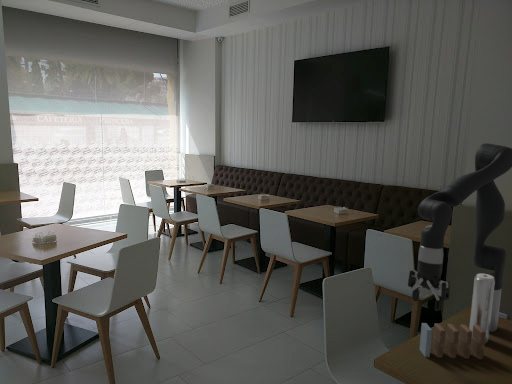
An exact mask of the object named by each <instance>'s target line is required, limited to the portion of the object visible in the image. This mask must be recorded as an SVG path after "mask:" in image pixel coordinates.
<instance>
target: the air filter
mask: <svg viewBox="0 0 512 384" xmlns="http://www.w3.org/2000/svg"><path fill="white" fill-rule="evenodd" d="M488 274H489V273H488ZM488 274H487V273H476V275H475V276H474V280H473V289H472V290H473V291H472V299H471V309H470V318H469V326H468V328H469V329H470V330H471V331H472V334H473V325H479V326H480V327H481V328H482V329H483V330H484V331H485V332H486V335H485V344H487V343H489V337H490V332H489V329H490V321H491V312H492V303H493V294H494V286H495V279H494V277H493V276H491V275H488Z"/></svg>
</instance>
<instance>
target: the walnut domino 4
mask: <svg viewBox="0 0 512 384" xmlns="http://www.w3.org/2000/svg"><path fill="white" fill-rule="evenodd" d="M485 335H486V332H485V331H484V330H483V329H482V328H481V327H480V326H479V325H473V334H472V340H471V349H470V353H472V354H473V356H475V358H476V359H477V360H484V350H485V344H486V343H485Z"/></svg>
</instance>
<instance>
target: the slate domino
mask: <svg viewBox="0 0 512 384" xmlns="http://www.w3.org/2000/svg"><path fill="white" fill-rule="evenodd" d="M432 335H433V329H432V328H431V327H430V326H429V325H428V323H427V322H421V326H420V338H419V339H420V340H419V351H420V352H421V354H422V355H423V356H424V358H431V357H430V356H431V349H432V348H431V347H432V338H433V337H432Z"/></svg>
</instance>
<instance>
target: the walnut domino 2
mask: <svg viewBox="0 0 512 384" xmlns="http://www.w3.org/2000/svg"><path fill="white" fill-rule="evenodd" d="M459 334H460V330H459V329H458V328H457V327H455V325H454V324H453V323H447V325H446V334H445V337H446V338H445V344H444V351H445V352H446V353H447V355H448V356H449V357H450V358H451V359H457V354H458V344H459Z"/></svg>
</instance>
